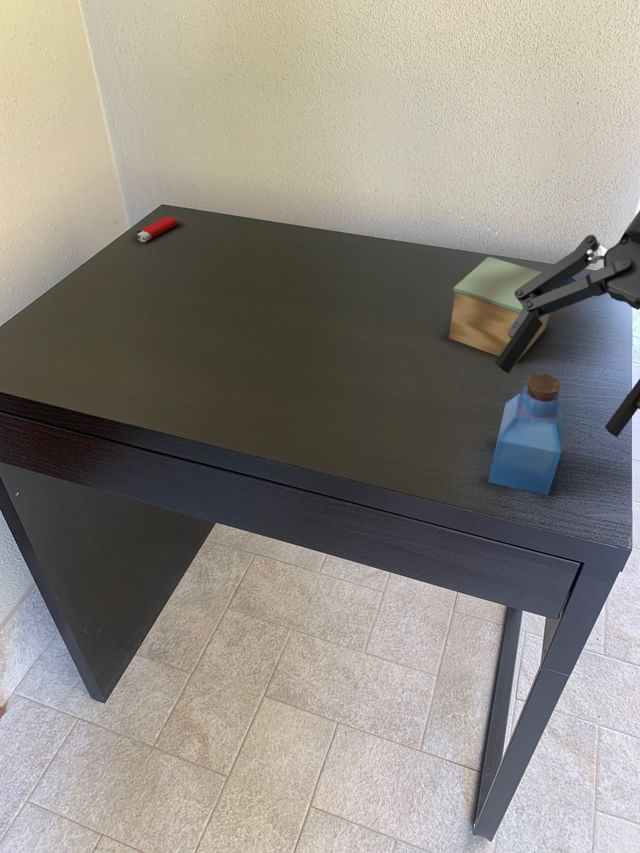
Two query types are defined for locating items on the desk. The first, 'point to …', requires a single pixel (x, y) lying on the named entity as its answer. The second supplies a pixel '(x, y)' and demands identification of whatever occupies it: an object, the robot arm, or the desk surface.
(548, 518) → the desk surface
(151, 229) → the lighter
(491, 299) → the pale green square pedestal
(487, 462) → the desk surface
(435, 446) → the desk surface
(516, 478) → the perfume bottle
